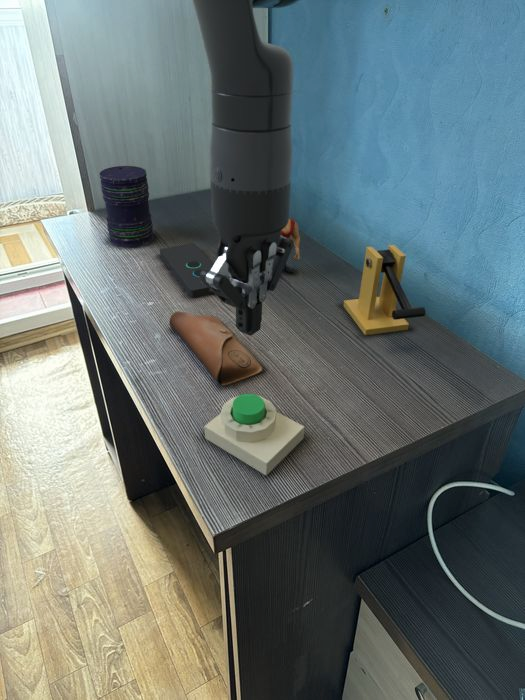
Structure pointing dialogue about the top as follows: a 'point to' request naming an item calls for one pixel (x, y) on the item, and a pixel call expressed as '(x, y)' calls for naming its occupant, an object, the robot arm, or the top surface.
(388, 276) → the switch lever
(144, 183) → the storage jar
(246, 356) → the sunglasses case
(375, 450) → the top surface
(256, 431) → the switch box
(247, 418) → the light button
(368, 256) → the lever bracket
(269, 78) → the robot arm
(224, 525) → the top surface
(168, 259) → the smart home device
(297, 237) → the action figure
